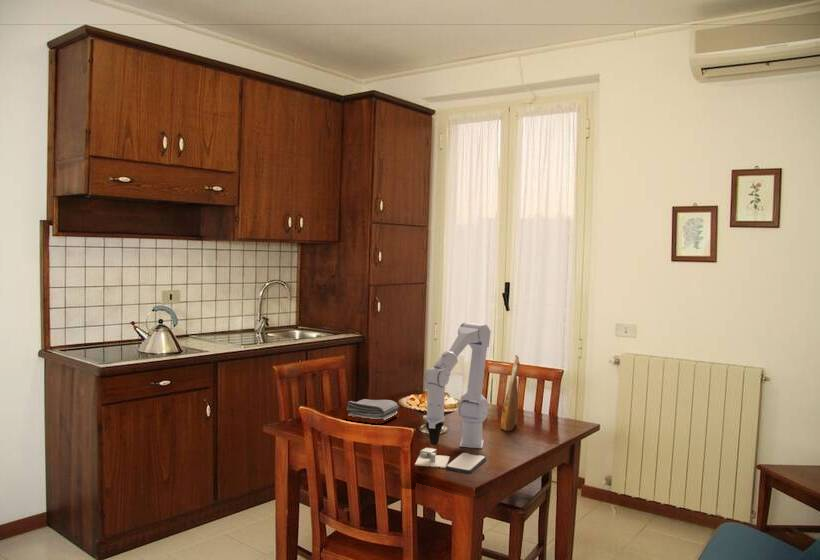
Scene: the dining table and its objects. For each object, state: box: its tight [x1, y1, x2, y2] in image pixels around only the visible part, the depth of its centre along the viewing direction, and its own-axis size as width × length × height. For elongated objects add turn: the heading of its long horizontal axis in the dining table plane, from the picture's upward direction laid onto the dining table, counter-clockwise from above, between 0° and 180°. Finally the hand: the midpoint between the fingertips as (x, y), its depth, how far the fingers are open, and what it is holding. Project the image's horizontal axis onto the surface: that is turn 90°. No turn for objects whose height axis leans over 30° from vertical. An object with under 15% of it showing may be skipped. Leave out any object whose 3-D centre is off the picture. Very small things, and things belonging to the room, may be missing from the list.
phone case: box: [445, 452, 487, 474], centre depth 208 cm, size 9×2×16 cm
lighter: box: [419, 447, 437, 462], centre depth 212 cm, size 7×2×8 cm
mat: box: [414, 454, 451, 469], centre depth 210 cm, size 11×10×1 cm
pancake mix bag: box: [500, 354, 521, 432], centre depth 256 cm, size 7×19×28 cm, turn 165°
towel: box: [346, 398, 400, 420], centre depth 261 cm, size 15×18×8 cm
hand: (434, 444), depth 212 cm, fingers closed
